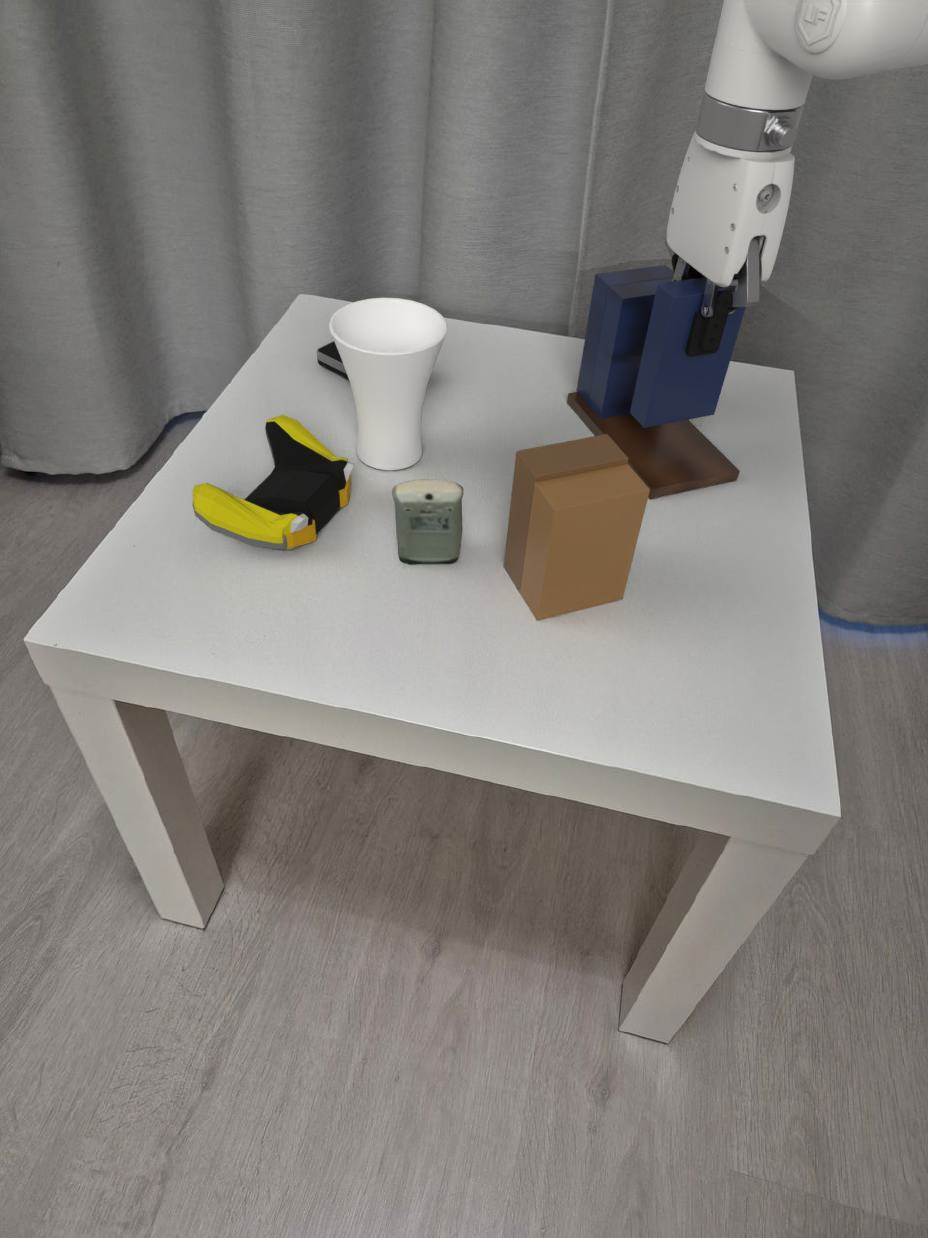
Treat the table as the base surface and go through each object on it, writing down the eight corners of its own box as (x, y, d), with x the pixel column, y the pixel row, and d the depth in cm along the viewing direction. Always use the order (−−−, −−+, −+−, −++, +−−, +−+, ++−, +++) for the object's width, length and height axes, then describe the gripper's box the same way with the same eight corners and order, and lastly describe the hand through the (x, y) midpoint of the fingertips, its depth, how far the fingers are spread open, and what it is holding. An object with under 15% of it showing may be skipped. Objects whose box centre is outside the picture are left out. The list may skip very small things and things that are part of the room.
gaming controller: (189, 542, 76) (288, 577, 74) (177, 491, 72) (282, 526, 70) (281, 453, 86) (372, 481, 84) (275, 404, 82) (370, 432, 80)
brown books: (585, 547, 78) (607, 433, 70) (622, 599, 74) (651, 484, 65) (503, 566, 76) (516, 450, 68) (537, 621, 72) (555, 504, 63)
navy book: (699, 400, 88) (734, 272, 79) (714, 414, 86) (752, 286, 77) (629, 412, 85) (657, 283, 76) (643, 428, 84) (674, 297, 74)
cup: (449, 480, 84) (455, 351, 75) (339, 486, 83) (331, 355, 73) (435, 420, 92) (439, 295, 82) (333, 424, 90) (326, 298, 80)
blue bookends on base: (646, 388, 98) (674, 263, 88) (737, 480, 87) (781, 348, 77) (566, 402, 95) (586, 274, 85) (649, 499, 84) (683, 365, 74)
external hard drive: (358, 344, 102) (358, 328, 101) (431, 379, 97) (431, 362, 96) (315, 366, 98) (314, 350, 97) (388, 403, 93) (388, 386, 92)
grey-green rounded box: (414, 586, 74) (415, 511, 68) (381, 552, 77) (380, 477, 71) (469, 562, 76) (475, 488, 71) (435, 529, 79) (438, 456, 73)
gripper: (855, 155, 63) (776, 382, 76) (728, 89, 74) (678, 299, 87) (769, 163, 61) (703, 395, 74) (651, 94, 72) (612, 308, 85)
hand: (690, 341), depth 80 cm, fingers closed on navy book, 2 cm apart
